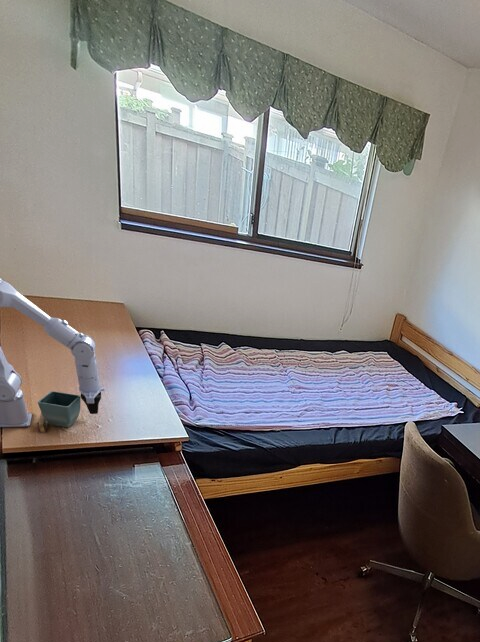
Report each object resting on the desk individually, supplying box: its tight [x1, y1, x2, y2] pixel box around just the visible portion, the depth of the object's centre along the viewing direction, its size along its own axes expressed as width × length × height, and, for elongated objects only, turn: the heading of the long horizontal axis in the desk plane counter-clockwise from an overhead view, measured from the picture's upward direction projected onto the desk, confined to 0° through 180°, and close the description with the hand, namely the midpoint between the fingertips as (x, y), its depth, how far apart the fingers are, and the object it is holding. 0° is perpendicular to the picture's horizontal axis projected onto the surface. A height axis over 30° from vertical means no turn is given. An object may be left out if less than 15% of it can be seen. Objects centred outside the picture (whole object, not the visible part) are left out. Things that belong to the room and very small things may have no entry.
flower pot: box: [37, 390, 81, 428], centre depth 146 cm, size 9×9×9 cm
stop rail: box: [38, 412, 49, 433], centre depth 144 cm, size 2×8×3 cm, turn 27°
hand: (93, 412), depth 151 cm, fingers closed
